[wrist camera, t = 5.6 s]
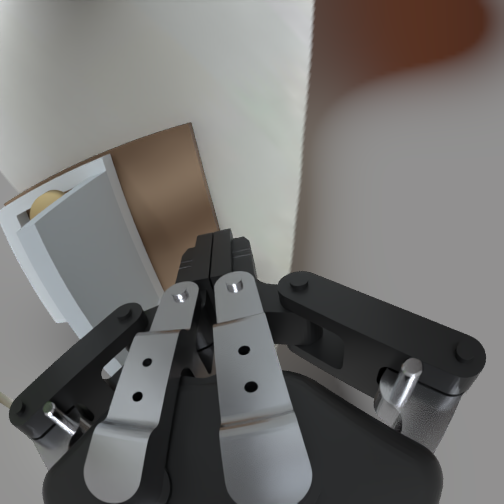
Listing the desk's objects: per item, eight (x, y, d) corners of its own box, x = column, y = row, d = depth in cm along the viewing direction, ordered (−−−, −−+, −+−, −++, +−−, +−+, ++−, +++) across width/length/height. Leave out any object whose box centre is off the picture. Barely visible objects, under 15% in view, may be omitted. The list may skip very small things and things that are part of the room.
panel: (4, 206, 14) (-64, 263, 7) (110, 153, 14) (25, 203, 7) (61, 314, 20) (25, 386, 12) (166, 296, 19) (145, 393, 12)
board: (12, 198, 15) (-24, 223, 11) (190, 122, 15) (176, 128, 11) (66, 305, 21) (46, 342, 17) (232, 273, 20) (234, 318, 16)
